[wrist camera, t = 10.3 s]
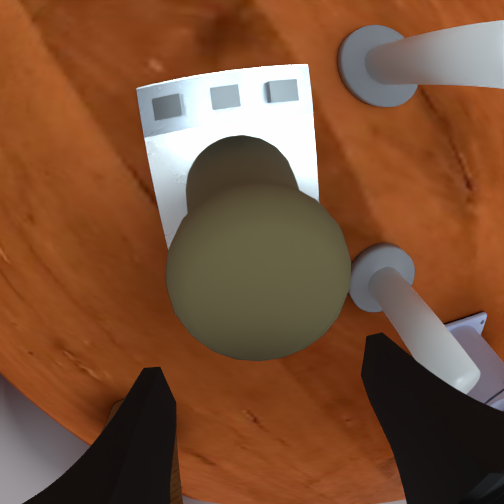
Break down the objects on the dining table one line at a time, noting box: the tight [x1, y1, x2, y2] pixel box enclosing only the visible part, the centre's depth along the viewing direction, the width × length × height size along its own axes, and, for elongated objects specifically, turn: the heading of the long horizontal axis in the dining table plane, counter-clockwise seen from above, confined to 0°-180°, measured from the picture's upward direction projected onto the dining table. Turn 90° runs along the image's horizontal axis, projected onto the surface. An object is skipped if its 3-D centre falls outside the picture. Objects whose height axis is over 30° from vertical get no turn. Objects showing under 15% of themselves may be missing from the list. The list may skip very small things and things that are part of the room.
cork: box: [165, 135, 351, 361], centre depth 13 cm, size 6×6×11 cm
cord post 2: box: [348, 243, 480, 394], centre depth 17 cm, size 5×5×11 cm
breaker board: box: [136, 64, 319, 250], centre depth 17 cm, size 14×9×4 cm, turn 7°
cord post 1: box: [337, 20, 504, 107], centre depth 11 cm, size 5×5×11 cm
